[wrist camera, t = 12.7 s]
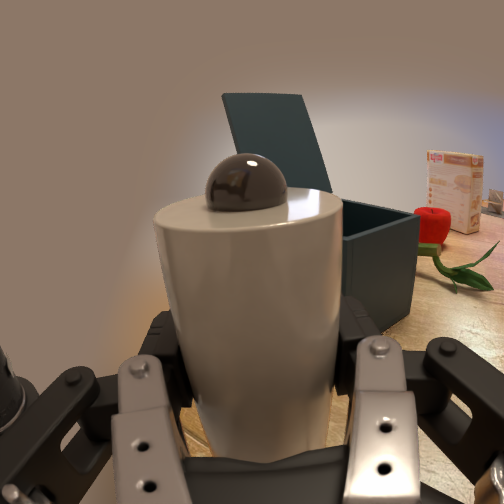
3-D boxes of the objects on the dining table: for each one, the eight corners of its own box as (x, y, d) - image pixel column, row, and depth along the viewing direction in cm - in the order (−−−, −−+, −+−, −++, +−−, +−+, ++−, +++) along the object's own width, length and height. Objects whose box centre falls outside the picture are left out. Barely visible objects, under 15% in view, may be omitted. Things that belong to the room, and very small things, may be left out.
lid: (301, 94, 45) (298, 97, 46) (223, 93, 39) (221, 96, 39) (332, 193, 46) (329, 194, 46) (255, 208, 39) (252, 209, 40)
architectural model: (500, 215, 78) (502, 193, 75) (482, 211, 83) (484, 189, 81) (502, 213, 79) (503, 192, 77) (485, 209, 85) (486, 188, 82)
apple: (433, 236, 65) (435, 203, 62) (456, 248, 57) (460, 212, 54) (403, 240, 64) (405, 205, 61) (426, 253, 56) (429, 215, 53)
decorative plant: (363, 235, 62) (504, 238, 37) (364, 274, 63) (501, 290, 38) (345, 237, 59) (497, 241, 34) (346, 279, 60) (494, 299, 34)
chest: (409, 312, 38) (420, 215, 33) (340, 359, 32) (346, 240, 27) (331, 277, 51) (331, 196, 46) (261, 305, 44) (254, 212, 40)
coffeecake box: (479, 231, 66) (484, 155, 59) (466, 235, 63) (471, 155, 57) (439, 217, 79) (441, 150, 72) (424, 220, 77) (426, 149, 70)
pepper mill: (200, 488, 10) (103, 175, 6) (238, 416, 14) (201, 154, 10) (309, 513, 9) (333, 156, 4) (330, 430, 13) (345, 146, 9)
